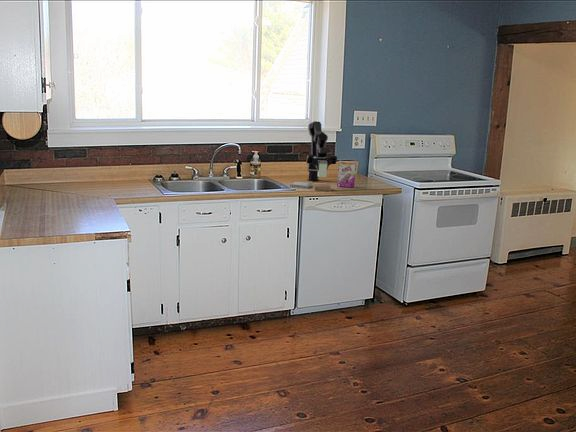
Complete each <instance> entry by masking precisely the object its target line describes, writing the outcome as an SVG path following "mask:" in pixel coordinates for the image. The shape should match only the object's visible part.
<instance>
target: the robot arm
mask: <svg viewBox="0 0 576 432" xmlns="http://www.w3.org/2000/svg"><path fill="white" fill-rule="evenodd" d="M307 129H308V134H309V136H310V137H311V139H310V140H311V142H310V143H311V154H307V155H306V160H305V161H306V164H308V165H307V172H308V178H307V179H306V180H307V181H310V182H320V181H321V180H320V179H319V177H318V171H319V166H318V162H327V171H328V169H329V166H331V165H336V164H337V161H338V156H337V155H330V157H327V156H328V154H330V153H331V147H329V146H327V147H326V145H327V142H328V140H329V139H328V134H326V133H325V132H324V131H322V122H321V121H315V120H314V121H312V122H310V123H309V124H308V127H307Z"/></svg>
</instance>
